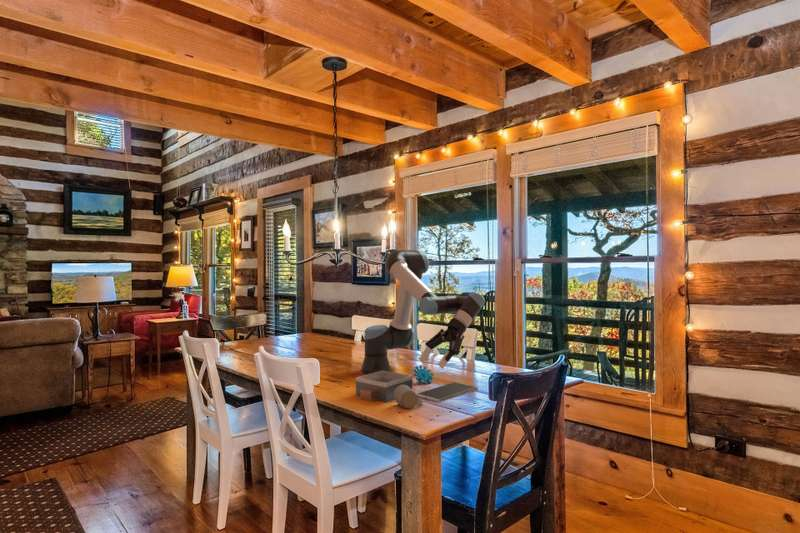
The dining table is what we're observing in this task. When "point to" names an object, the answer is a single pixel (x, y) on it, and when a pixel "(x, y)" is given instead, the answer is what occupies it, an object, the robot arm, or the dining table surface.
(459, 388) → the grey flat slab
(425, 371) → the gear
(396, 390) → the ceramic mug
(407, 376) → the grey hollow block
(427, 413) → the dining table surface
